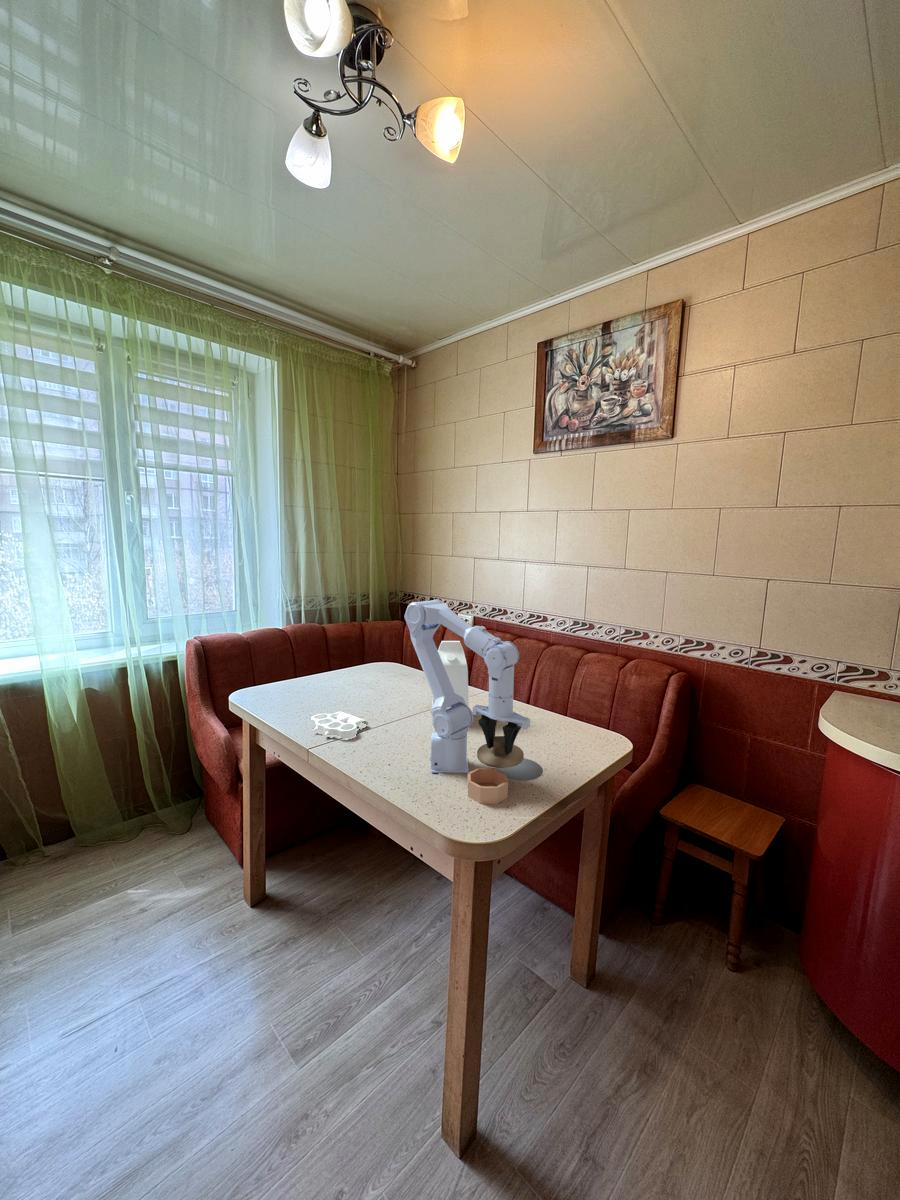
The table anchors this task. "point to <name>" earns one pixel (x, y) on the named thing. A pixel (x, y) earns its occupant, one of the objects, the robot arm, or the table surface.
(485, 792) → the bowl
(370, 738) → the table surface
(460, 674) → the milk
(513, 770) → the mat
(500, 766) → the lid
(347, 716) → the white holed plate
